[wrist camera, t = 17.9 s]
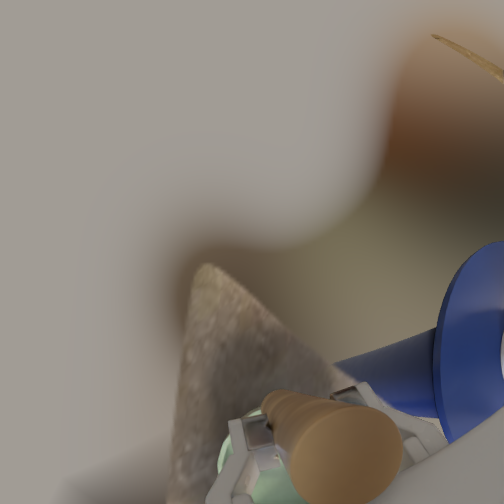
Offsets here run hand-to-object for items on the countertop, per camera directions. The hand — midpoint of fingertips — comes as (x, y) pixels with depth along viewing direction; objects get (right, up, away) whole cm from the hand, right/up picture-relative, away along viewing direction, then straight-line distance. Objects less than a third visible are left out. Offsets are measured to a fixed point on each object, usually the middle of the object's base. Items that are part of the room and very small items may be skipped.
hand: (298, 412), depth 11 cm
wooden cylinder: (0, -4, +7) cm, 8 cm away
